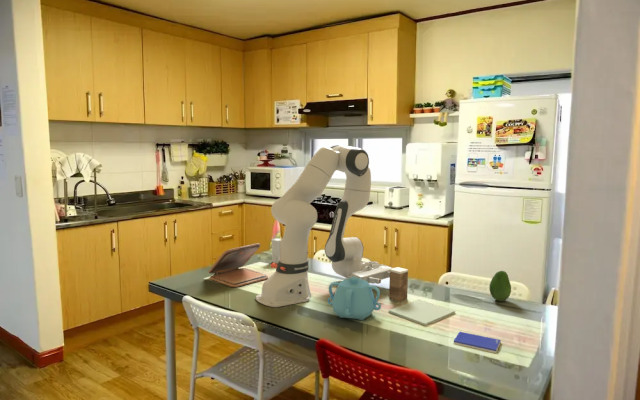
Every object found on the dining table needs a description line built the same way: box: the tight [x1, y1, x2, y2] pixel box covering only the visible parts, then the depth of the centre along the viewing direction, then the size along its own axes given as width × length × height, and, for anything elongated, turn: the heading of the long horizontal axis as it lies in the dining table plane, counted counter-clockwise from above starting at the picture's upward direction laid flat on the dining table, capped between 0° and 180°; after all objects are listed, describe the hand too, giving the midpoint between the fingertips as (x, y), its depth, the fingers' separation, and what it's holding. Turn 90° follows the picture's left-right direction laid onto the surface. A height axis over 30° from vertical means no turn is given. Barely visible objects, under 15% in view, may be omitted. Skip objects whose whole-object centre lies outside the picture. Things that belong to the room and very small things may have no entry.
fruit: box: [489, 270, 512, 302], centre depth 175 cm, size 8×8×12 cm
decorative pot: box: [327, 277, 382, 321], centre depth 160 cm, size 16×16×14 cm
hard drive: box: [453, 331, 502, 354], centre depth 138 cm, size 2×8×12 cm
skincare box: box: [271, 237, 282, 265], centre depth 230 cm, size 6×4×12 cm
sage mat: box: [388, 299, 456, 327], centre depth 163 cm, size 18×16×1 cm
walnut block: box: [388, 266, 409, 303], centre depth 176 cm, size 5×5×12 cm
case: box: [208, 242, 269, 288], centre depth 202 cm, size 20×21×16 cm
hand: (387, 279), depth 181 cm, fingers open, 8 cm apart
